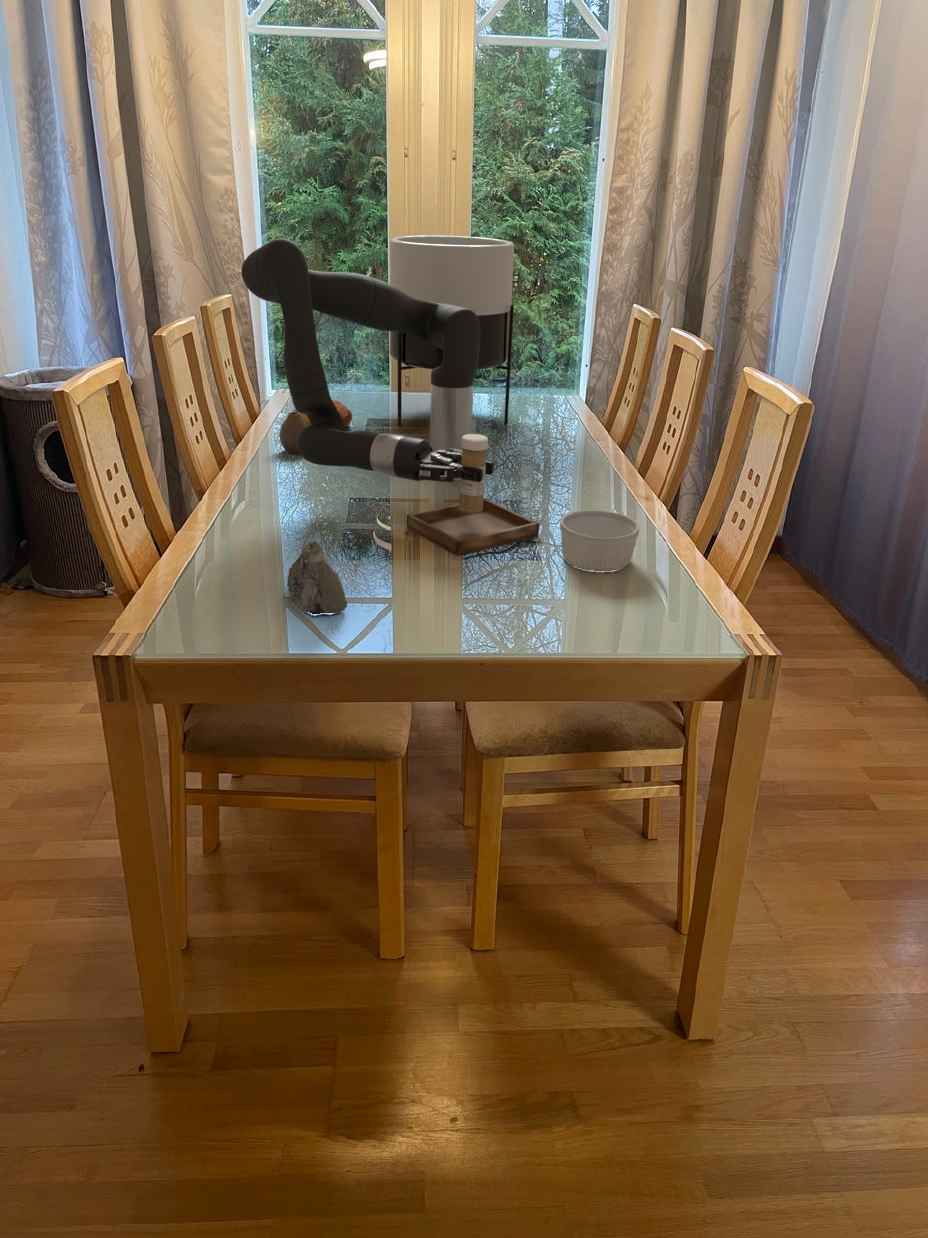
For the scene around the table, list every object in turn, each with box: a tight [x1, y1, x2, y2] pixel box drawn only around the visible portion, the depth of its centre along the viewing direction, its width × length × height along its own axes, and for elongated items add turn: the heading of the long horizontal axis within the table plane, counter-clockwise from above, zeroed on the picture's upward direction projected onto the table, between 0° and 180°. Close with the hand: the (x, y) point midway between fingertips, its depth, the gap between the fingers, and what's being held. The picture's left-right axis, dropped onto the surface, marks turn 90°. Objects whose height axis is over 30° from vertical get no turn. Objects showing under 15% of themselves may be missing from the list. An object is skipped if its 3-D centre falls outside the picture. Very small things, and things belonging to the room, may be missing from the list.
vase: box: [279, 411, 308, 455], centre depth 208 cm, size 7×7×9 cm
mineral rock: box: [286, 540, 348, 614], centre depth 138 cm, size 13×11×10 cm
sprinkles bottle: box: [458, 433, 489, 513], centre depth 163 cm, size 5×5×13 cm
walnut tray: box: [406, 497, 540, 557], centre depth 167 cm, size 18×16×2 cm
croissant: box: [292, 399, 353, 428], centre depth 228 cm, size 14×16×8 cm
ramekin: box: [559, 509, 640, 571], centre depth 156 cm, size 13×13×7 cm
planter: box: [389, 235, 515, 427], centre depth 232 cm, size 31×31×43 cm
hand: (487, 472), depth 162 cm, fingers closed on sprinkles bottle, 4 cm apart
